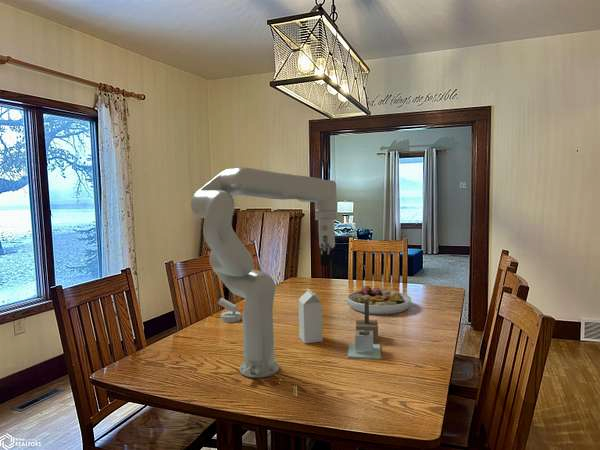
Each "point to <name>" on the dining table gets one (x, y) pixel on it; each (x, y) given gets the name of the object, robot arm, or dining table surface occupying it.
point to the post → (368, 323)
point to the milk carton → (310, 318)
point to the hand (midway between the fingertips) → (326, 263)
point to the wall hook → (232, 314)
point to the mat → (375, 354)
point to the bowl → (379, 301)
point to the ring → (364, 341)
